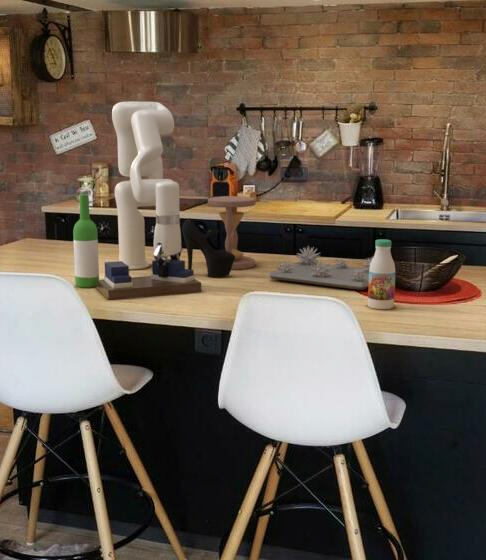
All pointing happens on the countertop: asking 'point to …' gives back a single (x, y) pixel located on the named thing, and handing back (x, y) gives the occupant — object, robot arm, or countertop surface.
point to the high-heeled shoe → (207, 250)
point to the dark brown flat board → (147, 288)
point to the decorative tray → (323, 272)
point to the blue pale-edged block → (174, 271)
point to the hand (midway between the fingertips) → (168, 274)
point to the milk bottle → (381, 277)
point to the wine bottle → (85, 247)
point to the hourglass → (233, 226)
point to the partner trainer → (117, 275)
